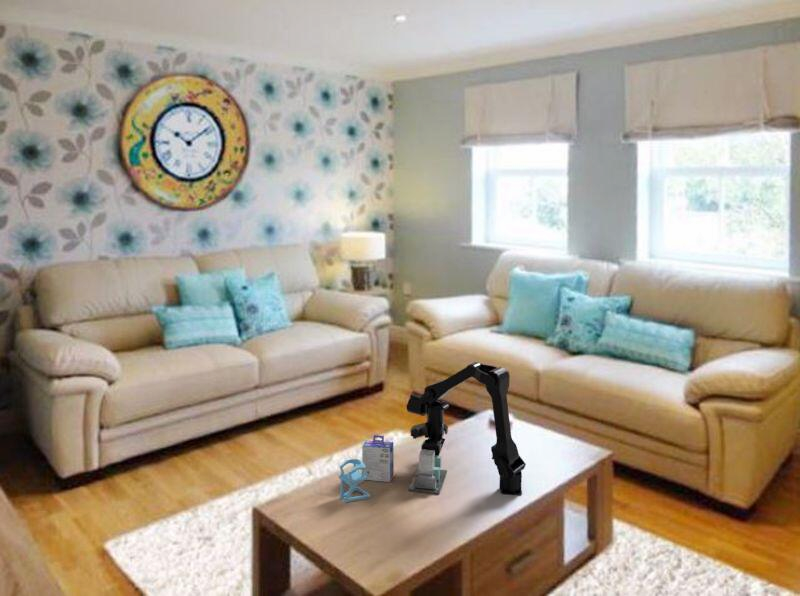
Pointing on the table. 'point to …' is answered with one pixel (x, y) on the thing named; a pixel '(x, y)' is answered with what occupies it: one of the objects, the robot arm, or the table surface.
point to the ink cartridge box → (378, 459)
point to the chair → (352, 480)
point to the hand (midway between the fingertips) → (435, 460)
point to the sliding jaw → (436, 467)
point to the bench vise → (427, 483)
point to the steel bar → (427, 462)
